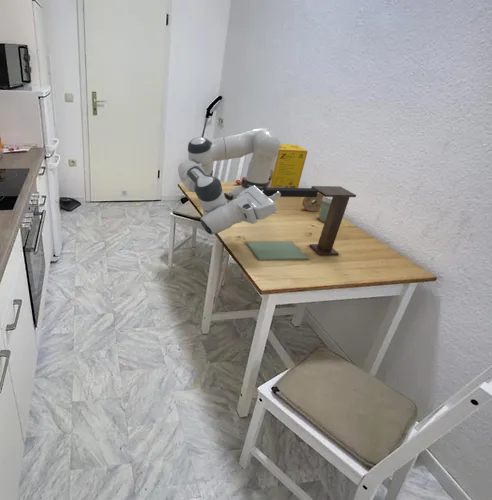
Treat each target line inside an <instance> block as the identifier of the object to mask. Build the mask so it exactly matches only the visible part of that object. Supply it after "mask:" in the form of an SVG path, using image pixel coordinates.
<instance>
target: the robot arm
mask: <svg viewBox="0 0 492 500" xmlns="http://www.w3.org/2000/svg"><path fill="white" fill-rule="evenodd" d="M187 144H188V145H187V152H188V154H187V155H188V159H186V160H185V159H184V160H183V161H182V162H180V164H179V165H178V167H177V174H178V177H179V179H180V182H181V183H182V185H183V186H184V187H185V188H186V189H187V191H189V192H191V193H195V195H196V196H197V199H198V200H199V203H200V205H201V207H202V217H201V218H199V220H200V224H201V226H202V228H203V229H204V231H205V232H206V233H207V234H209V235H215V234H218V233H221V232H224V231H226V230H228V229H230V228H232V227H233V226H234V225H236V224H241V223H242V222H246V223H248V224H249V223H250V224H252V225H254V224H256V223H257V222H258V221H260V220H263V219H266V218H269V217H270V216H272V215H274V214H276V212H277V211H278V208H277V204H276V202H275V201H276V200H277V199H278V198H281V197H280V196H281V194H280V192H279V191H276V192H274V194H273V195H272V196H269V197H268V196H266V195H265V194H264V193H263V189H264V187H268V185H269V182H268V180H269V176H270V171H271V167H272V164H273V162H274V159H275V157H276V154H277V152H278V151H279V149H280V145H281V144H282V143H281V139H280V137H279V136H278V135H277V134H276V132H274V131H272V130H271V129H270V128H268V127H259V128H255V129H252V130H247V131H245V132H243V133H238V134H232V135H227V136H221V137H218V138H213V139H210V140H209V139H208V138H206V137H202V136H201V137H200V136H199V137H194V138H193V139H191V140H190V141H189V142H188V143H187ZM250 154H252V155H251V158H250V160H249V163H248V166H247V171H246V176H243V177H242V178H241V180H240V181H241V185H237V186H235V187H234V188H231V189H230V190H229V192H224V190H223V187H222V183H221V179H219V178H218V177H216V176H213V175H214V170H213V168H214V167H213V165H214V164H213V163H214V162H219V161H220V162H221V161H226V160H228V161H229V160H233V159H239V158H243V157H245V156H248V155H250ZM271 188H273V187H271Z"/></svg>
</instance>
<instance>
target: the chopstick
mask: <svg viewBox="0 0 492 500" xmlns="http://www.w3.org/2000/svg"><path fill="white" fill-rule="evenodd" d="M241 181H242V180H241V179H236V183H237V184H238V186H240V185H241Z"/></svg>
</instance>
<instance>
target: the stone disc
mask: <svg viewBox="0 0 492 500" xmlns="http://www.w3.org/2000/svg"><path fill="white" fill-rule="evenodd" d="M323 197H324V196H323V195H322V194H320V193H319V192H318V194H317V197H303V199H302V207H303V208H304V209H305V210H306V211H309V212H317V211H319V210H321V205H322V198H323Z"/></svg>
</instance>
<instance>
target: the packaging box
mask: <svg viewBox="0 0 492 500" xmlns="http://www.w3.org/2000/svg"><path fill="white" fill-rule="evenodd" d="M280 144H281V145H280V149H279V151H278V152H277V154H276V157H275V159H274V162H273V164H272V167H271V171H270V176H269V180H268V182H269V185H268V188H271V187H273V188H299V185H300V181H301V177H302V175H303V171H304V167H305V162H306V159H307V155H308V150H306V149H305V148H303V147H302V146H300V145H298V144H289V143H288V144H287V143H286V144H285V143H280Z"/></svg>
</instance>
